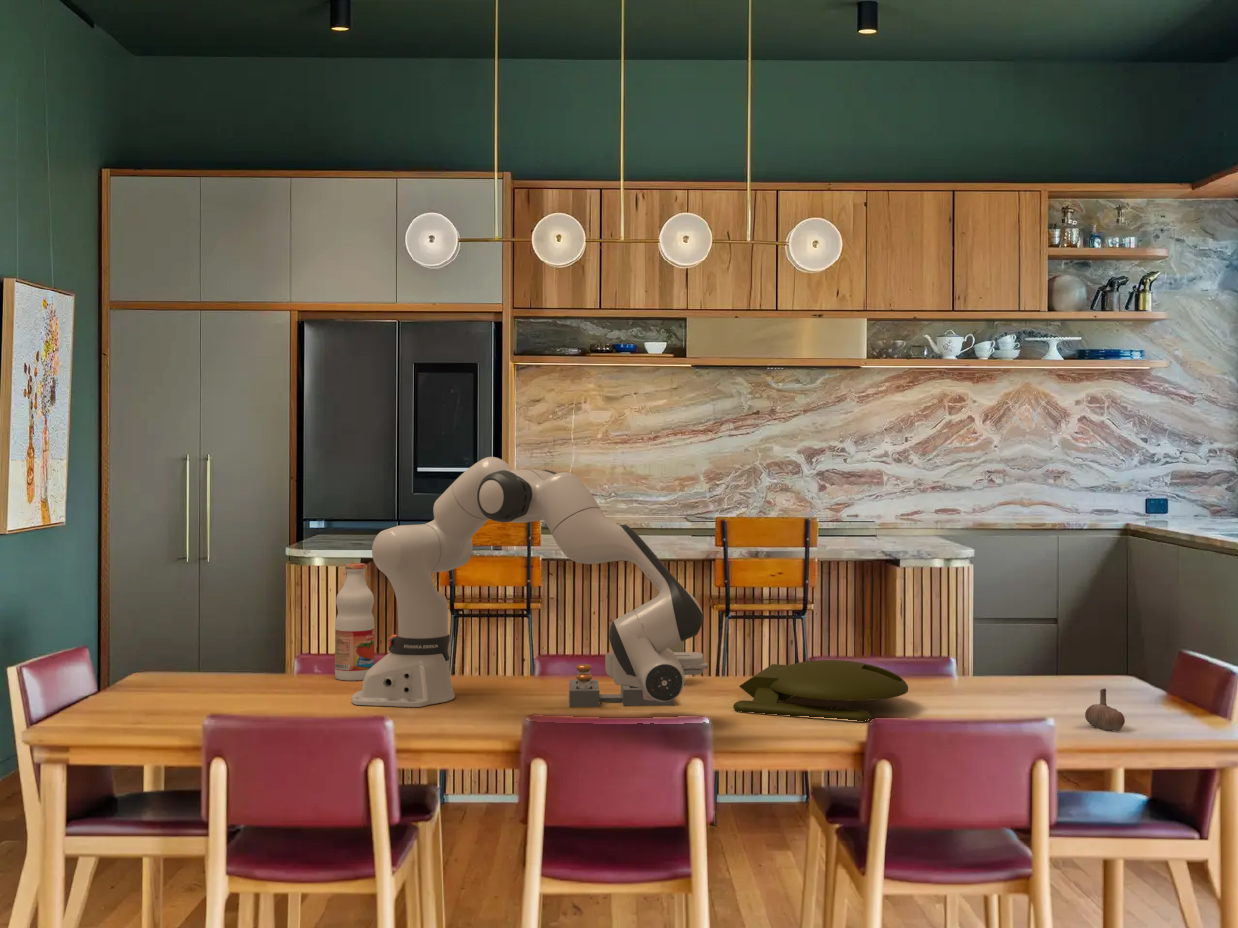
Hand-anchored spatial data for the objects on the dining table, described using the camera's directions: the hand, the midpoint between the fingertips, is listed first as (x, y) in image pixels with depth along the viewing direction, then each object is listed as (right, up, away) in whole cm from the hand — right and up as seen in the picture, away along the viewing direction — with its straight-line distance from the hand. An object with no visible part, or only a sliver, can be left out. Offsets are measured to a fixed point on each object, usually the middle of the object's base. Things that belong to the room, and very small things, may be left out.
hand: (651, 656), depth 232 cm
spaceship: (+39, -13, +10) cm, 42 cm away
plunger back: (-15, -10, +15) cm, 24 cm away
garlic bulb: (+91, -12, -11) cm, 92 cm away
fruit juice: (-72, -12, +39) cm, 83 cm away
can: (+4, -12, +33) cm, 36 cm away
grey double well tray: (-7, -12, +13) cm, 19 cm away
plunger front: (-15, -11, +9) cm, 21 cm away
